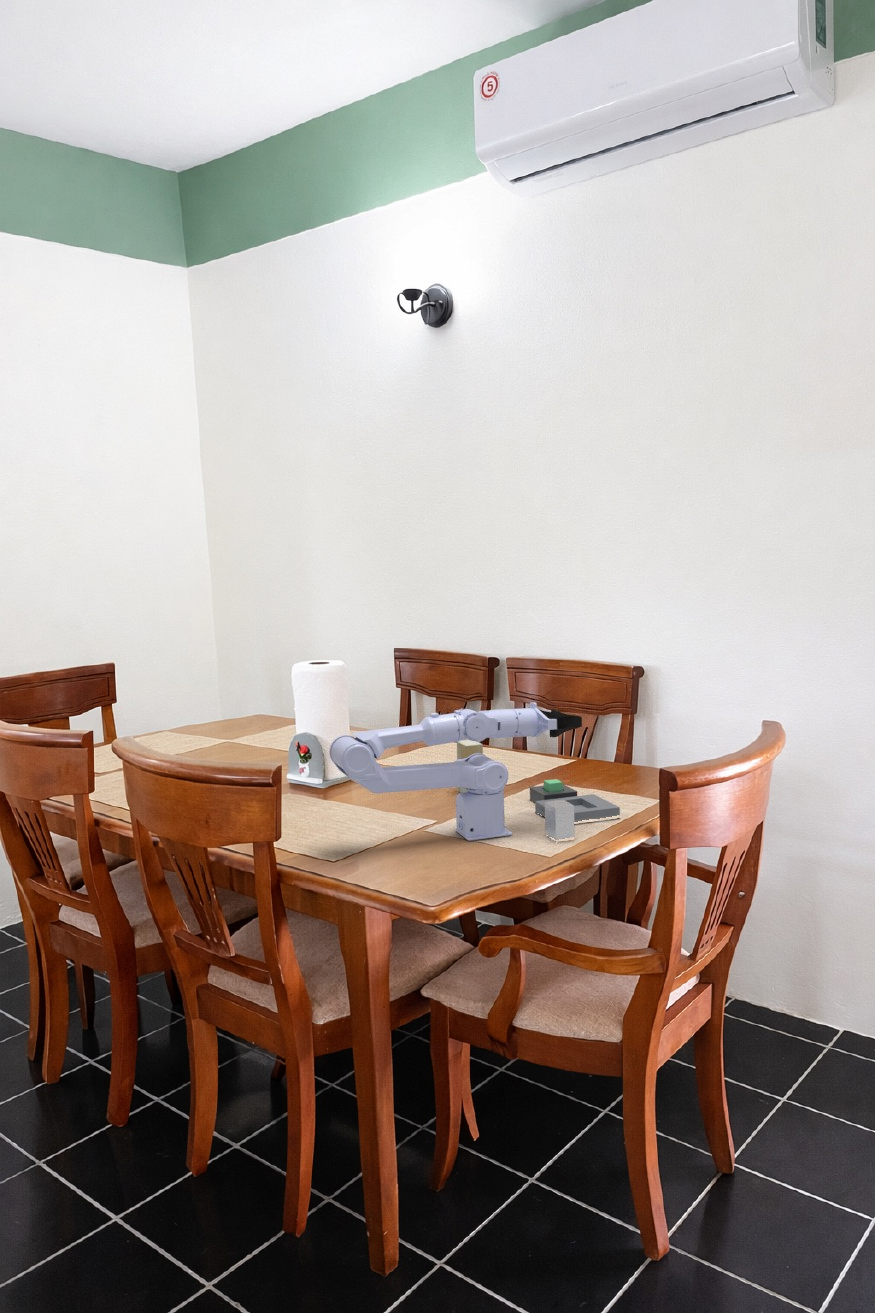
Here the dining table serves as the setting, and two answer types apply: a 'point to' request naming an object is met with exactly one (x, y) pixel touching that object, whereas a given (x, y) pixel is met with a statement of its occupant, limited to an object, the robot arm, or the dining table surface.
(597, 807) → the pocket plate
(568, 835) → the block
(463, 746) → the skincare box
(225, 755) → the dining table surface
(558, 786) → the button
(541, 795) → the button housing
